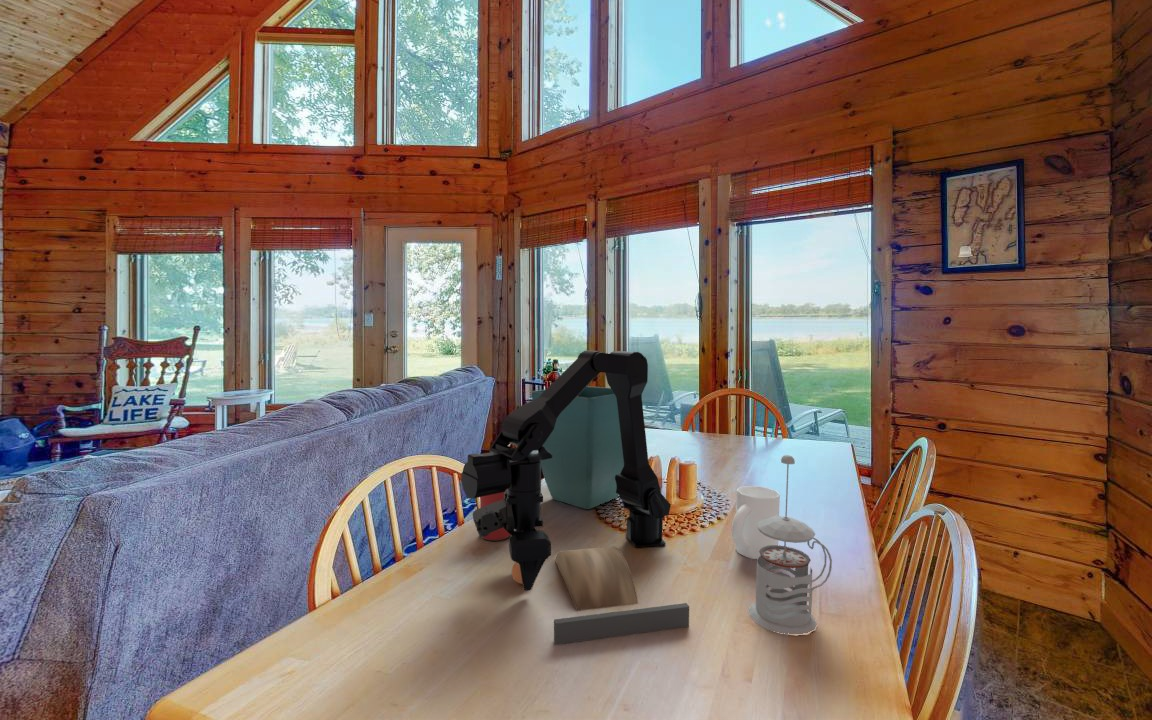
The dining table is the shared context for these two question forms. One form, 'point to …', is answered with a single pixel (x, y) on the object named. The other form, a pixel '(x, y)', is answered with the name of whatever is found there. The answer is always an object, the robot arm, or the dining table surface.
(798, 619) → the french press
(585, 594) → the hump
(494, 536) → the beer can
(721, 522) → the dining table surface
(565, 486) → the flower pot
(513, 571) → the ball
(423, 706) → the dining table surface
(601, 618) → the bar
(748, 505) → the mug
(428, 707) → the dining table surface
